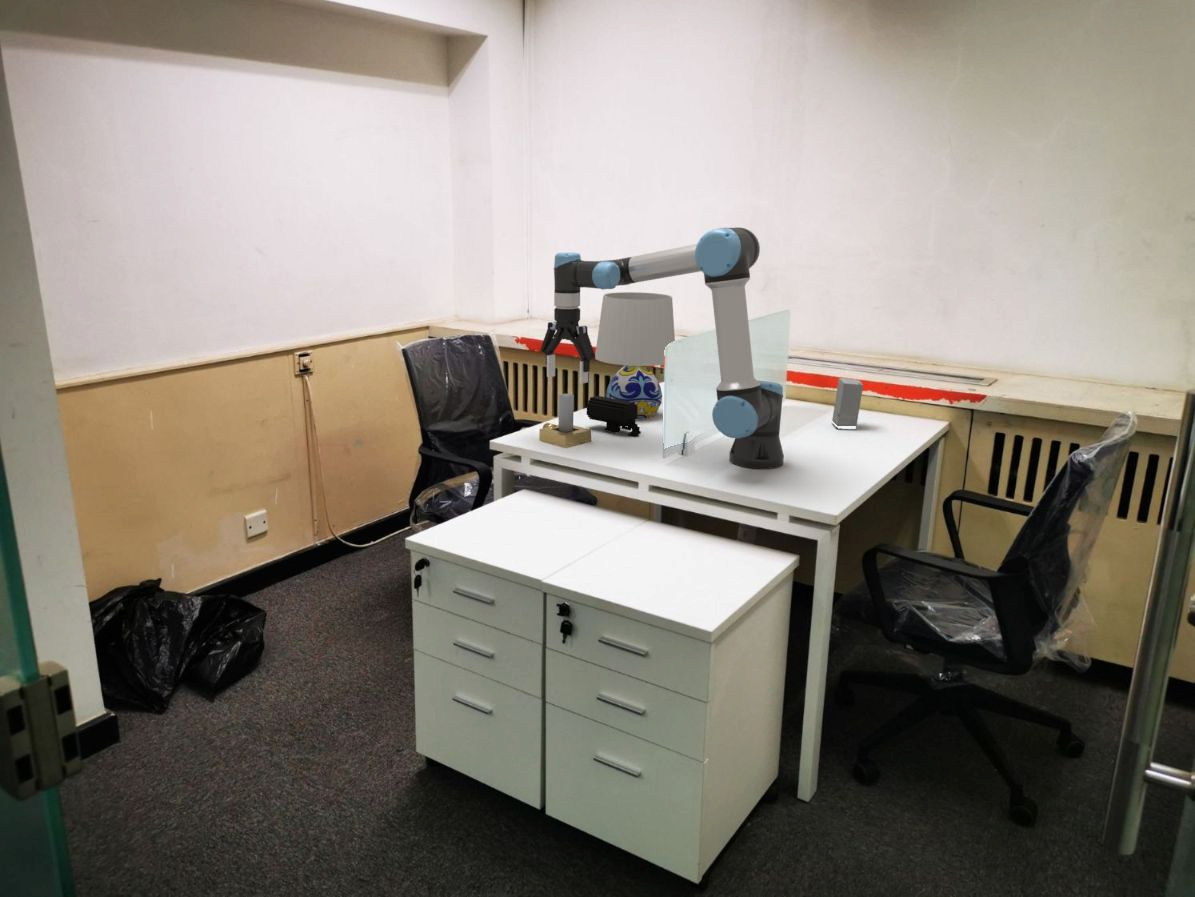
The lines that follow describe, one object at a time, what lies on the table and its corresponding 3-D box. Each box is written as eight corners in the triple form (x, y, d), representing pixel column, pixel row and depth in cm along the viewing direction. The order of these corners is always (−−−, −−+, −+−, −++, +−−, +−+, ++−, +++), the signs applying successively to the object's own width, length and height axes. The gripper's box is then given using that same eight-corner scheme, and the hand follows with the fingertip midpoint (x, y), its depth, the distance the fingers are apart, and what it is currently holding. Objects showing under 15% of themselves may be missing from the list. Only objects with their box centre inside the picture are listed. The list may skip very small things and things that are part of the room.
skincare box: (831, 423, 300) (835, 377, 296) (852, 424, 300) (857, 377, 296) (836, 430, 292) (841, 382, 288) (859, 430, 292) (864, 382, 287)
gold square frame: (591, 441, 272) (591, 428, 270) (565, 447, 264) (565, 434, 263) (559, 432, 280) (559, 420, 279) (533, 438, 272) (533, 425, 271)
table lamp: (604, 426, 290) (608, 300, 279) (585, 407, 315) (587, 291, 304) (684, 422, 296) (691, 300, 285) (659, 404, 322) (664, 291, 311)
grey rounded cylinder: (576, 440, 271) (576, 395, 267) (565, 443, 268) (566, 397, 264) (565, 438, 274) (566, 393, 270) (555, 440, 271) (555, 395, 267)
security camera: (632, 438, 275) (633, 406, 272) (584, 428, 286) (584, 397, 283) (644, 434, 281) (646, 403, 278) (597, 424, 291) (598, 394, 288)
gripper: (608, 309, 255) (607, 383, 260) (546, 302, 271) (546, 372, 277) (589, 312, 250) (589, 387, 255) (528, 304, 266) (528, 375, 271)
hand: (567, 379), depth 266 cm, fingers open, 13 cm apart
